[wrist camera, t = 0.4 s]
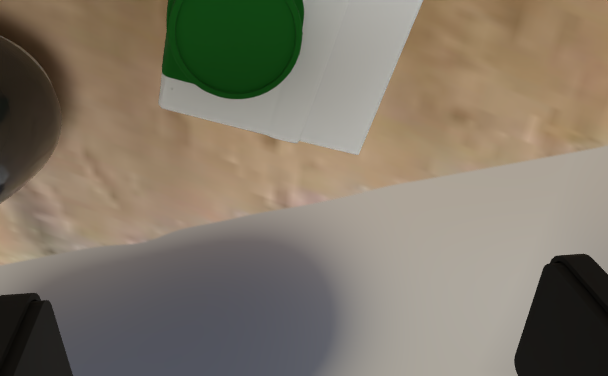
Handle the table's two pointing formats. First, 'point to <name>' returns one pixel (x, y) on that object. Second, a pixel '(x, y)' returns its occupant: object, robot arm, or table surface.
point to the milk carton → (285, 64)
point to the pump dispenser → (24, 118)
